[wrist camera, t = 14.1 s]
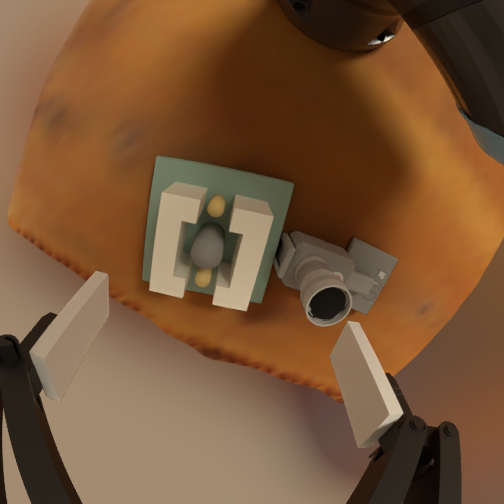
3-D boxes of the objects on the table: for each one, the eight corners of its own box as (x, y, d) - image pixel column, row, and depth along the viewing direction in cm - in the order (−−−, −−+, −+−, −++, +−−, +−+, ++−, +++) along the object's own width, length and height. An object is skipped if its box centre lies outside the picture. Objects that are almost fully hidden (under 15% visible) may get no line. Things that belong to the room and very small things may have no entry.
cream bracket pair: (245, 282, 34) (246, 311, 29) (162, 265, 33) (149, 290, 28) (267, 201, 31) (273, 216, 25) (176, 181, 30) (161, 192, 24)
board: (160, 155, 30) (139, 160, 23) (292, 182, 32) (305, 194, 25) (145, 274, 35) (128, 304, 29) (260, 297, 37) (264, 330, 31)
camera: (318, 250, 22) (438, 296, 25) (291, 211, 33) (390, 252, 36) (275, 336, 25) (395, 360, 28) (263, 275, 36) (360, 305, 39)
